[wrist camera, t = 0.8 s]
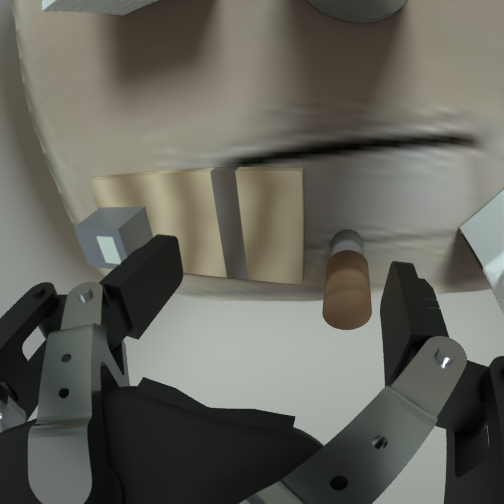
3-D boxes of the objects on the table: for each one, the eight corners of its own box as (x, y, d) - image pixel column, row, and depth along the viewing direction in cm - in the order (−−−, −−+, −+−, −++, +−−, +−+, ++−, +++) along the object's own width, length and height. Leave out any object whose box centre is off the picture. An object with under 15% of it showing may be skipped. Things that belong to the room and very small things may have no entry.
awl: (321, 237, 28) (313, 305, 20) (353, 220, 26) (358, 286, 18) (340, 264, 29) (337, 335, 21) (371, 249, 27) (379, 319, 19)
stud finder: (112, 242, 34) (87, 266, 30) (100, 207, 31) (72, 228, 27) (155, 245, 32) (131, 272, 28) (145, 206, 30) (116, 230, 26)
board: (122, 260, 37) (117, 265, 36) (96, 177, 31) (90, 181, 30) (303, 277, 31) (302, 284, 30) (303, 167, 24) (301, 171, 23)
